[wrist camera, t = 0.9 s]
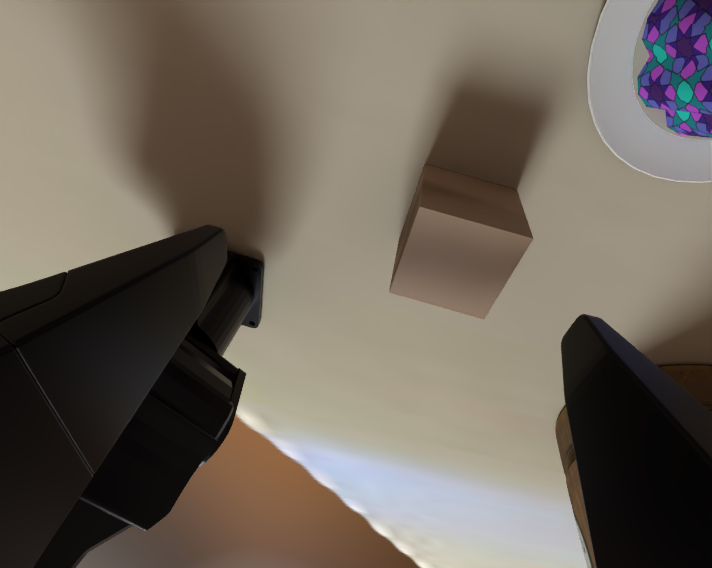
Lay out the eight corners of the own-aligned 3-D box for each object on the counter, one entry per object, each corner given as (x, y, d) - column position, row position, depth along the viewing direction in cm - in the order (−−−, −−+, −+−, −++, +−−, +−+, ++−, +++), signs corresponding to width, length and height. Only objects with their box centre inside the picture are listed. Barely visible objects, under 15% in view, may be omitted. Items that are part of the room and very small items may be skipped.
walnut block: (477, 263, 23) (483, 319, 19) (398, 240, 23) (388, 292, 19) (516, 189, 20) (533, 238, 16) (424, 163, 20) (419, 206, 16)
